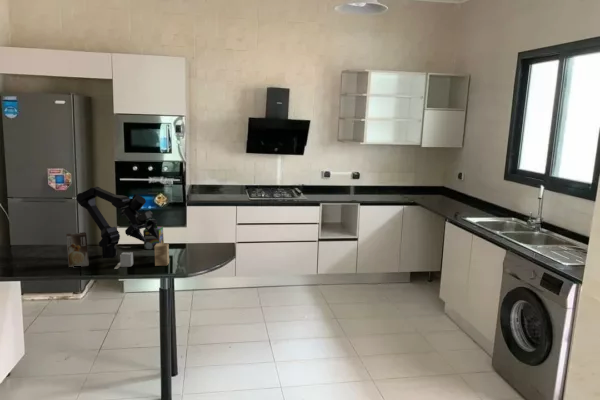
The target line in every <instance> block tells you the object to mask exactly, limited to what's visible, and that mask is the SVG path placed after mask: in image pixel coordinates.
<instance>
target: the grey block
mask: <svg viewBox="0 0 600 400" xmlns="http://www.w3.org/2000/svg"><path fill="white" fill-rule="evenodd" d="M119 259H120V261H119V263H120V267H121V268H129V267H132V266H133V265H134V252H131V251H130V252H121V254H120V255H119Z"/></svg>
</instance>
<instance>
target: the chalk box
mask: <svg viewBox="0 0 600 400" xmlns="http://www.w3.org/2000/svg"><path fill="white" fill-rule="evenodd" d="M142 231H143V233H142V235H143V237H144V238H145V240H146V242H143V246H144V247H143V249H144V250H155V248H154V246H155V245H156V243H165V242H164V241H165V239H164V226H158V224H157V225H156V231H157V235H158V238H155V237H154V236H153V235H152V234H150V233H149V232H148V230H147V229H146V228H143V229H142Z"/></svg>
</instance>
